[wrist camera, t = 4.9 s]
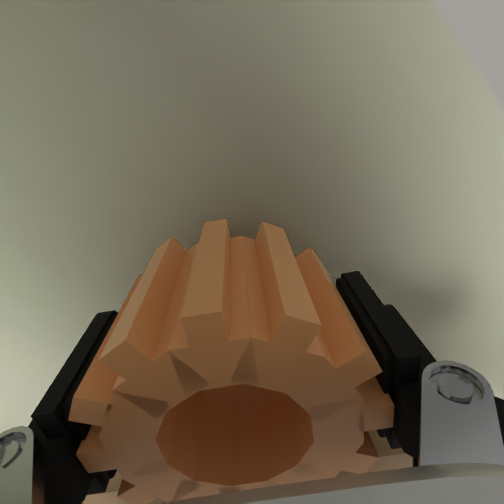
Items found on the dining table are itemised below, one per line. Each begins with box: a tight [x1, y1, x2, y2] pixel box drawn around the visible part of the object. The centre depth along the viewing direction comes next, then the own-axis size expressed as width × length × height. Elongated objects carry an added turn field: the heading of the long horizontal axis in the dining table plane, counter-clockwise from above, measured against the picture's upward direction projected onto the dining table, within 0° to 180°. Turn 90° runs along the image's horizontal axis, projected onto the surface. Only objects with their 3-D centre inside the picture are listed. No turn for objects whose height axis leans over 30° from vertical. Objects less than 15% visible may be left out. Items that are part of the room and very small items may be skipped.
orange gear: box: [68, 218, 395, 504], centre depth 10 cm, size 7×7×5 cm
